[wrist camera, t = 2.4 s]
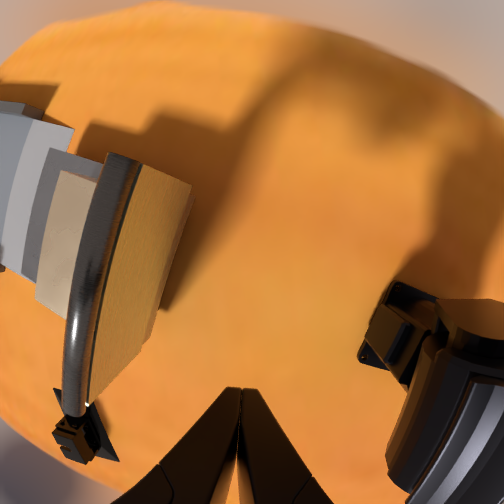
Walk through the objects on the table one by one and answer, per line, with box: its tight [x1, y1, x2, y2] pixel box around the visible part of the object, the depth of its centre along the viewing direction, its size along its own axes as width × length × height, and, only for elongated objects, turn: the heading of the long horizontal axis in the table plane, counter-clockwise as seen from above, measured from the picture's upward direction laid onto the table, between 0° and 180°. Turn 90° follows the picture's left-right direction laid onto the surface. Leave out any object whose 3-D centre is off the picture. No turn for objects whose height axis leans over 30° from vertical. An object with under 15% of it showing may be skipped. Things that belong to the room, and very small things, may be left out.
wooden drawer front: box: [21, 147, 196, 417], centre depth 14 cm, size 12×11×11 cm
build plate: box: [52, 388, 120, 465], centre depth 20 cm, size 12×7×5 cm, turn 5°
